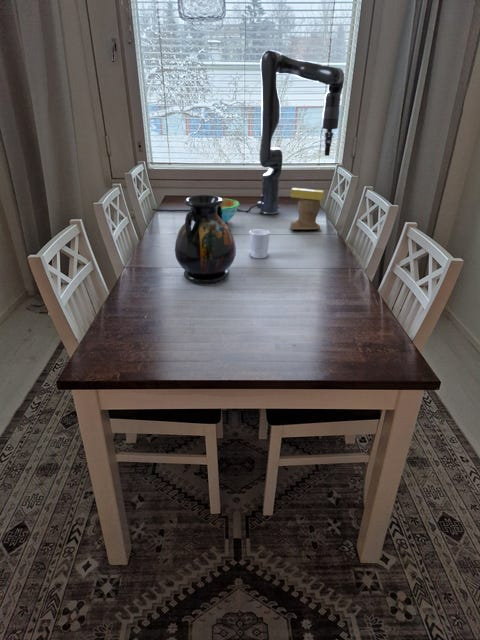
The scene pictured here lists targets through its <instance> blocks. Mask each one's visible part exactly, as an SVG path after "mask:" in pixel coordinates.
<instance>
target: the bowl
mask: <svg viewBox="0 0 480 640" xmlns="http://www.w3.org/2000/svg"><path fill="white" fill-rule="evenodd" d="M220 198H221V199H222V200H223V203H222V204H221V205H220V206H221V209H222V221H223V222H224V223H225V224H226V223H227V222H229V221H230V220H231V219H232V218H233V217H234V216H235V214H236V212H237V211H238V210H237V209H239V206H240V202H239V201H238V200H236V199H232V198H227V197H226V198H224V197H220Z"/></svg>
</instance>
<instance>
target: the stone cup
mask: <svg viewBox="0 0 480 640" xmlns="http://www.w3.org/2000/svg"><path fill="white" fill-rule="evenodd" d="M320 208H321V200H314V199H304V198H298V202H297V211H298V212H297V213H298V219H297V220H296V221H291V222H290V224H289V225H290V226H289V227H290V230H291V231H292V230H293V231H313V230H320V229H321V226H320V224H318V223H317V221H316V220H317V217H318V214H319V211H320Z"/></svg>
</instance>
